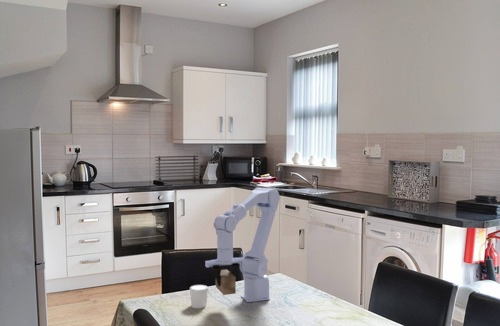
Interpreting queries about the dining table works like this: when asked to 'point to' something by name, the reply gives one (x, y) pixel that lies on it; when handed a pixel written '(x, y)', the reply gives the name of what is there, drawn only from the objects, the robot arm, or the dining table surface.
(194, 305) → the white cylinder
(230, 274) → the walnut block
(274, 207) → the robot arm
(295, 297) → the dining table surface
